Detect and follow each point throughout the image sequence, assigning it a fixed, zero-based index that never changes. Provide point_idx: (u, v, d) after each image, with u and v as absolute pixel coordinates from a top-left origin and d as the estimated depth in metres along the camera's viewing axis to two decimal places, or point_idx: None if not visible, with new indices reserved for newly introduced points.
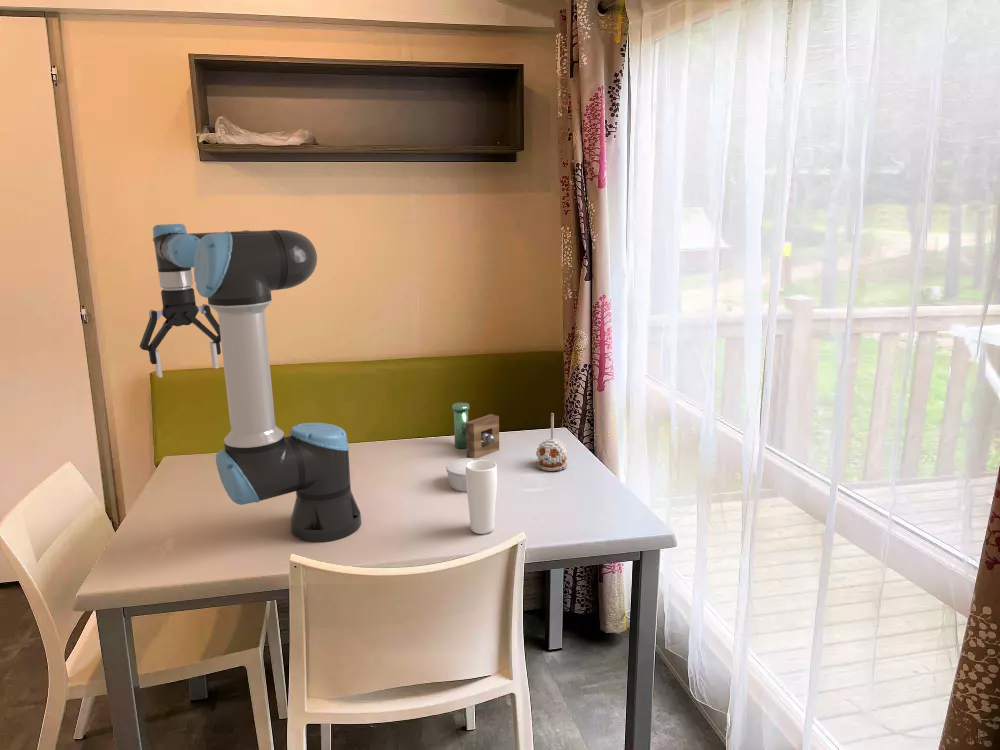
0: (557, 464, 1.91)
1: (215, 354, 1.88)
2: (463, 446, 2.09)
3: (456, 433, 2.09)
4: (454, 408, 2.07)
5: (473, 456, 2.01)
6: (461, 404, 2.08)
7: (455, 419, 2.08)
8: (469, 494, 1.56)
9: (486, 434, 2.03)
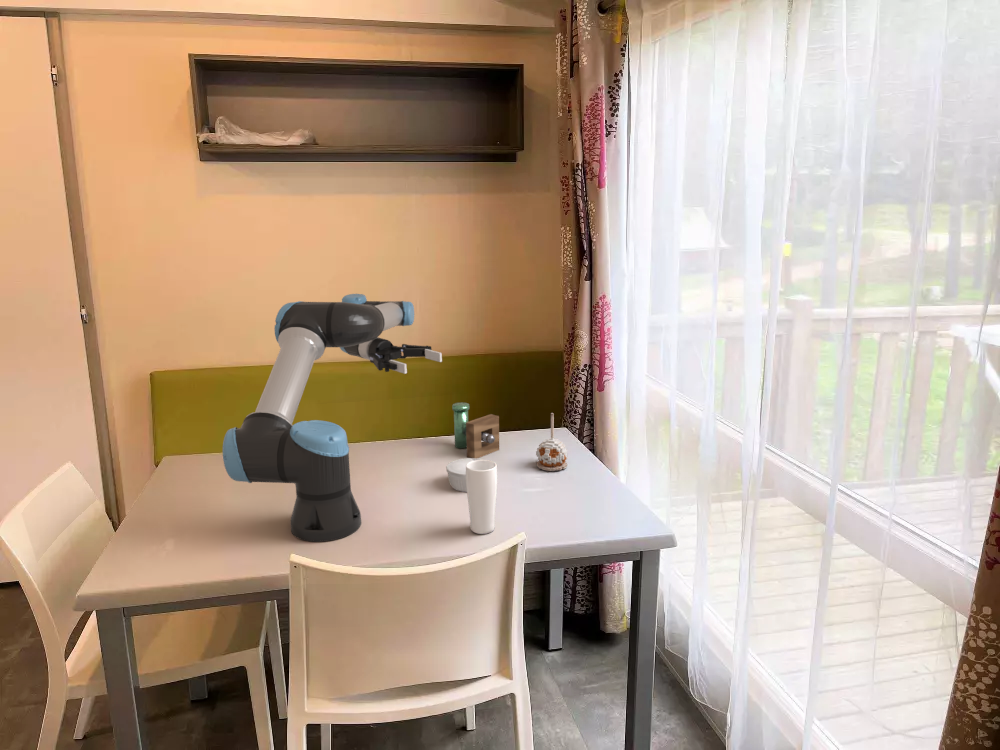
0: (557, 464, 1.91)
1: (432, 350, 2.18)
2: (463, 446, 2.09)
3: (456, 433, 2.09)
4: (454, 408, 2.07)
5: (473, 456, 2.01)
6: (461, 404, 2.08)
7: (455, 419, 2.08)
8: (469, 494, 1.56)
9: (486, 434, 2.03)
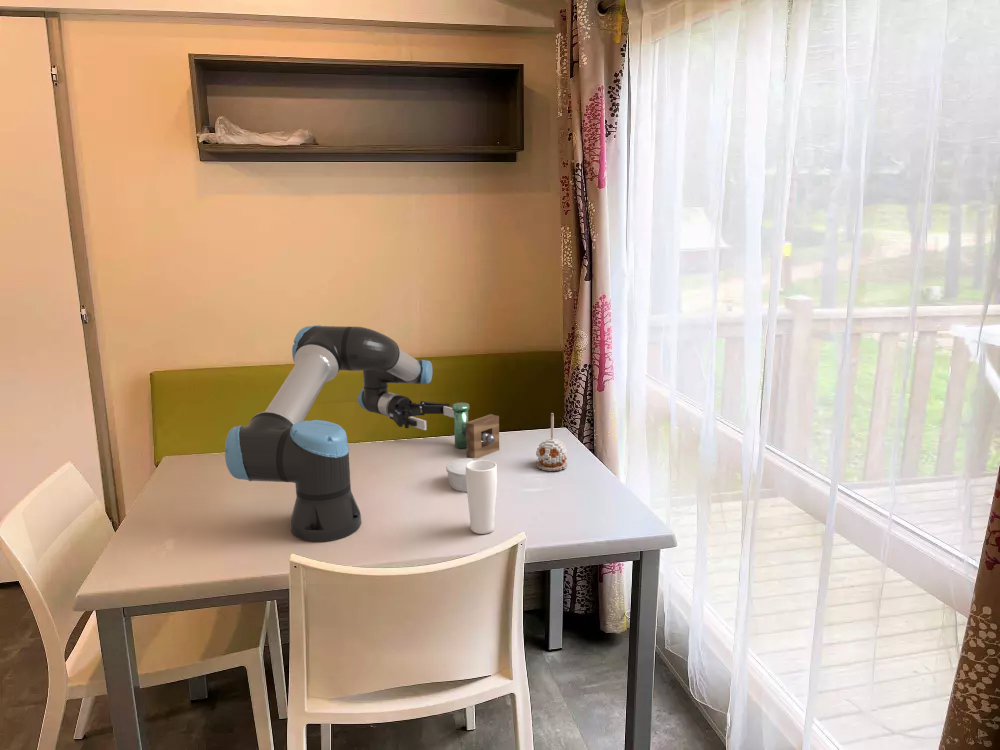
0: (557, 464, 1.91)
1: (450, 408, 2.22)
2: (463, 446, 2.09)
3: (456, 433, 2.09)
4: (454, 408, 2.07)
5: (473, 456, 2.01)
6: (461, 404, 2.08)
7: (455, 419, 2.08)
8: (469, 494, 1.56)
9: (486, 434, 2.03)
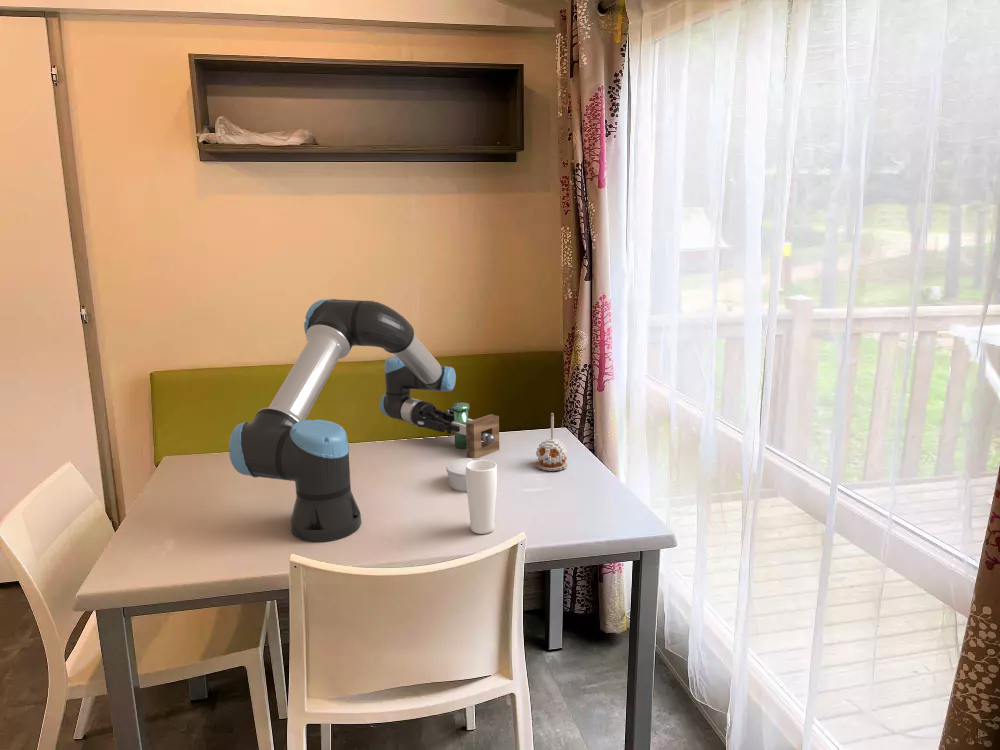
0: (557, 464, 1.91)
1: (471, 419, 2.10)
2: (463, 446, 2.09)
3: (456, 433, 2.09)
4: (454, 408, 2.07)
5: (473, 456, 2.01)
6: (461, 404, 2.08)
7: (455, 419, 2.08)
8: (469, 494, 1.56)
9: (486, 434, 2.03)
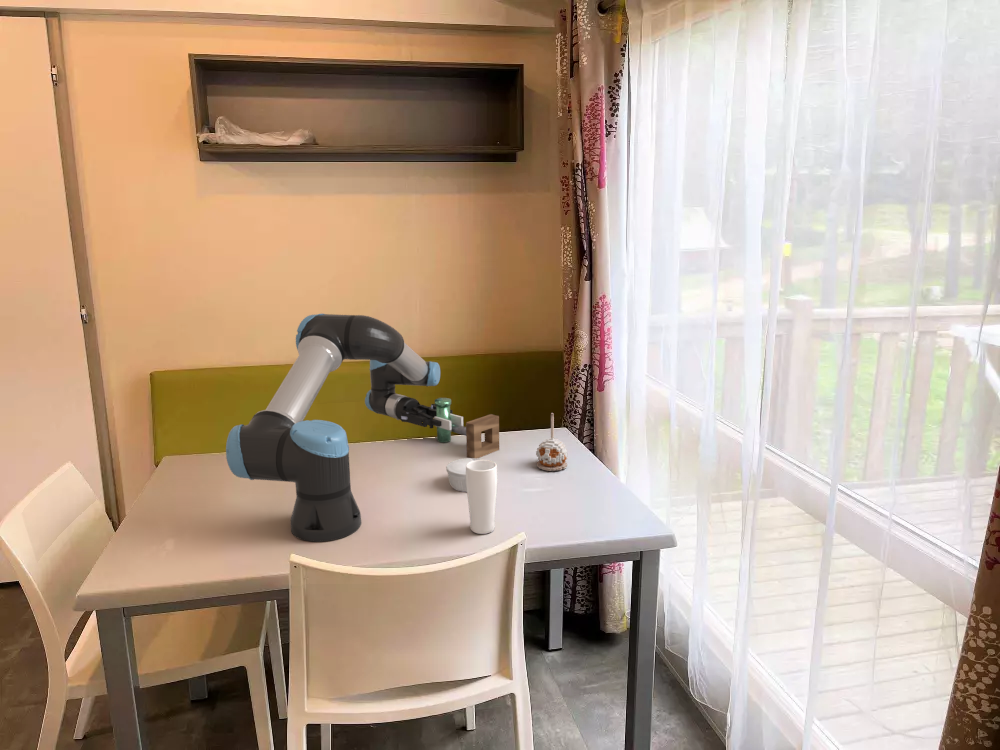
0: (557, 464, 1.91)
1: (453, 414, 2.15)
2: (445, 440, 2.14)
3: (438, 428, 2.14)
4: (436, 403, 2.11)
5: (473, 456, 2.01)
6: (443, 399, 2.13)
7: (437, 414, 2.13)
8: (469, 494, 1.56)
9: None
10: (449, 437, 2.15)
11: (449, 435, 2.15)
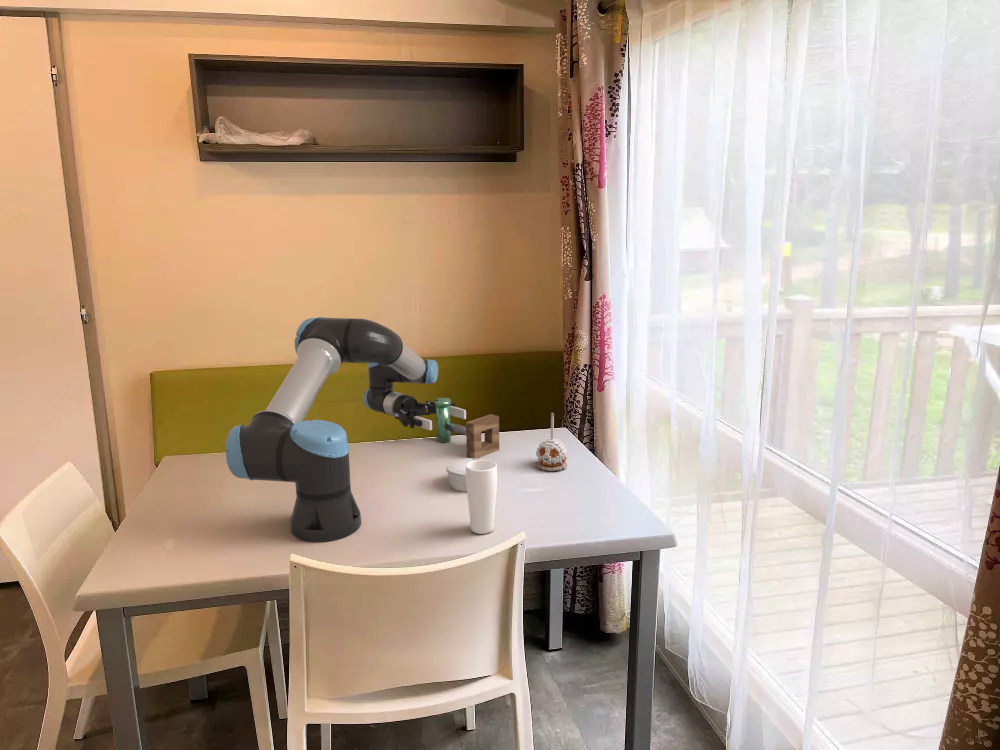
0: (557, 464, 1.91)
1: (456, 407, 2.20)
2: (445, 440, 2.14)
3: (438, 428, 2.14)
4: (436, 403, 2.11)
5: (473, 456, 2.01)
6: (443, 399, 2.13)
7: (437, 414, 2.13)
8: (469, 494, 1.56)
9: None
10: (449, 437, 2.15)
11: (449, 435, 2.15)
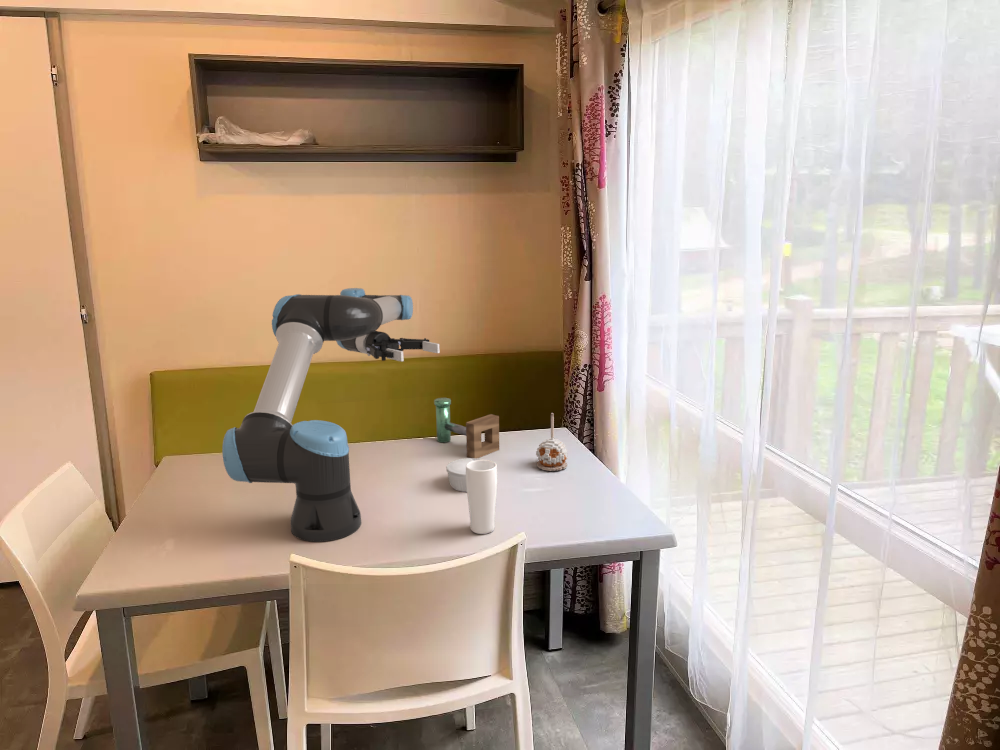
0: (557, 464, 1.91)
1: (429, 342, 2.15)
2: (445, 440, 2.14)
3: (438, 428, 2.14)
4: (436, 403, 2.11)
5: (473, 456, 2.01)
6: (443, 399, 2.13)
7: (437, 414, 2.13)
8: (469, 494, 1.56)
9: None
10: (449, 437, 2.15)
11: (449, 435, 2.15)
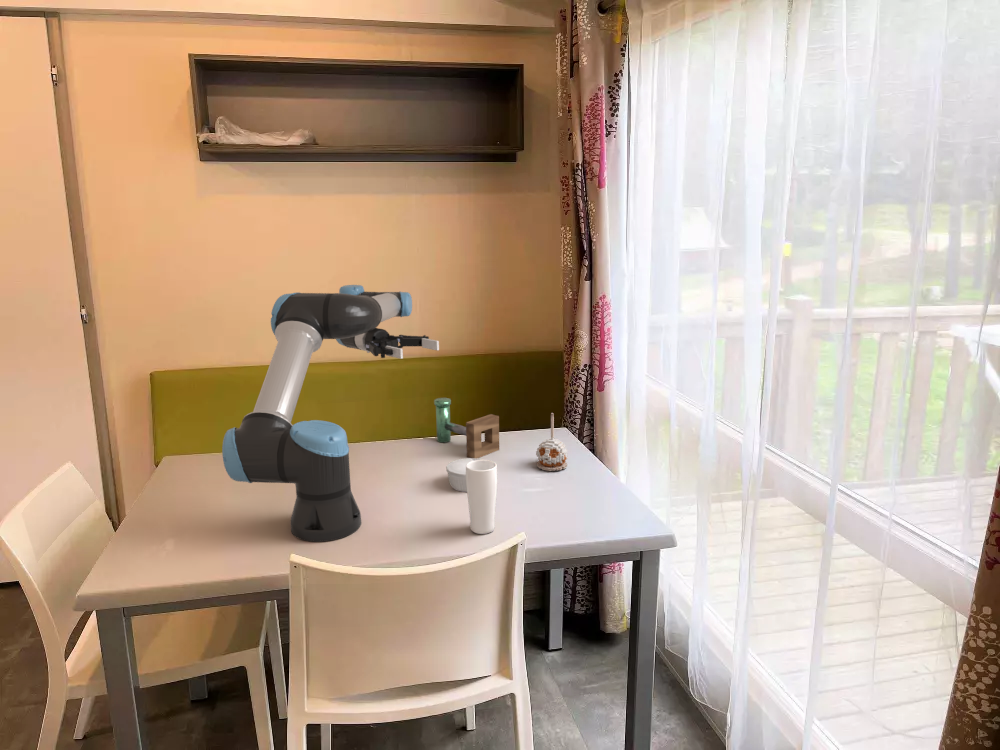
0: (557, 464, 1.91)
1: (429, 339, 2.14)
2: (445, 440, 2.14)
3: (438, 428, 2.14)
4: (436, 403, 2.11)
5: (473, 456, 2.01)
6: (443, 399, 2.13)
7: (437, 414, 2.13)
8: (469, 494, 1.56)
9: None
10: (449, 437, 2.15)
11: (449, 435, 2.15)
